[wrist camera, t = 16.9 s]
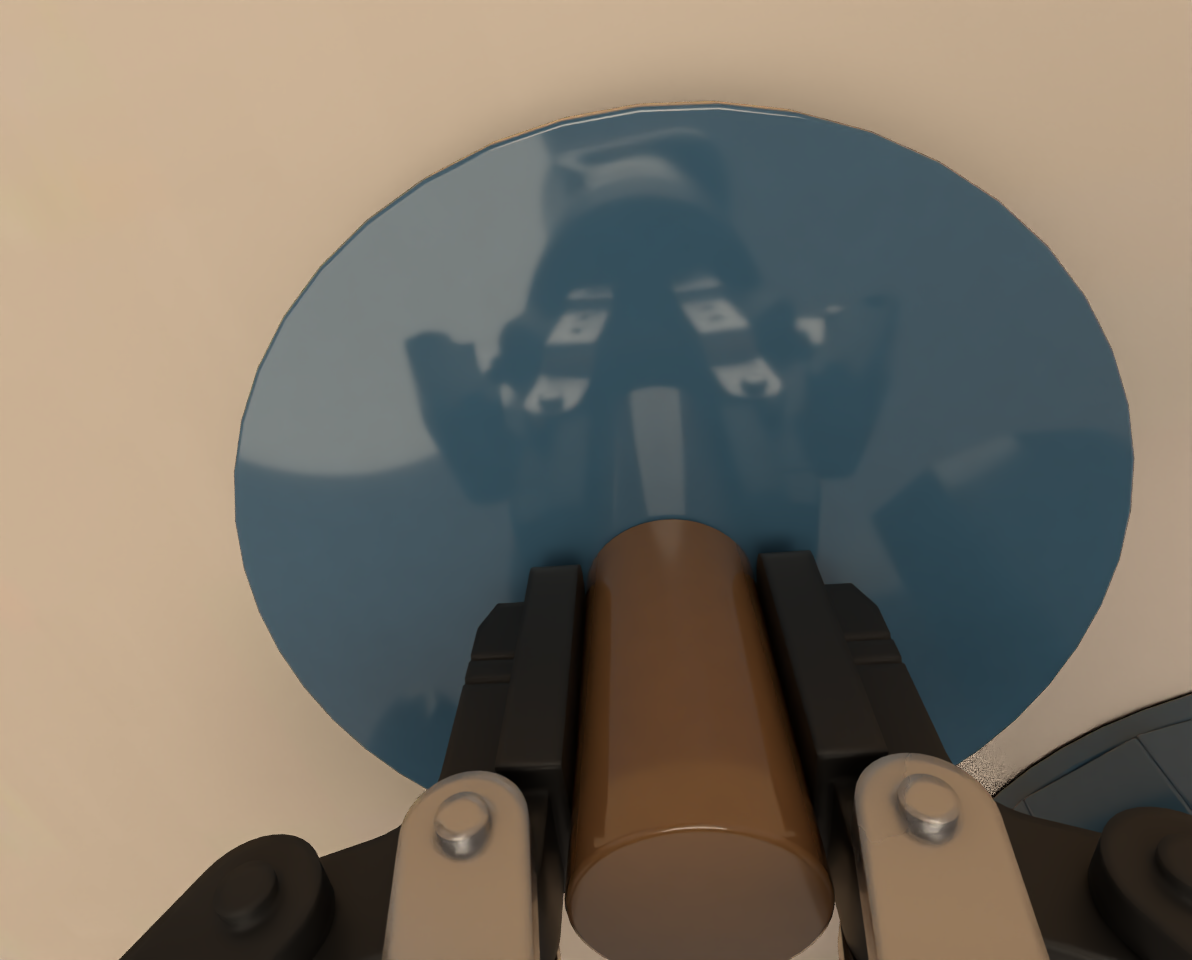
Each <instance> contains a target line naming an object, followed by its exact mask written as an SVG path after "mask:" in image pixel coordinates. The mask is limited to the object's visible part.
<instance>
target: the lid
mask: <svg viewBox="0 0 1192 960" xmlns="http://www.w3.org/2000/svg"><path fill="white" fill-rule="evenodd" d="M1133 471H1134V451H1133V442H1132V432H1131V423H1130V414H1129V405H1128V401H1127V398H1126V394H1125V391H1124V387H1123V384H1122V381H1121V377H1120V374H1119V370H1118V367H1117V364H1116V360H1115V357H1114V353H1113V350H1112V348H1111V346H1110V344H1109V342H1108V340H1107V338H1106V336H1105V334H1104V332H1103V330H1102V328H1101V326H1100V324H1099V322H1098V320H1097V318H1096V316H1095V314H1094V312H1093V310H1092V308H1091V306H1090V304H1089V302H1088V300H1087V298H1086V296H1085V295H1084V293H1083V292H1082V291H1081V289H1080V288H1079V287H1078V285H1077V284H1076V283H1075V281H1074V280H1073V279H1072V277H1071V276H1070V275H1069V273H1068V272H1067V271H1066V269H1065V268H1064V267H1063V265H1062V264H1061V263H1060V261H1059V260H1058V259H1057V257H1056V256H1055V255H1054V253H1053V252H1052V251H1051V250H1050V248H1049V247H1048V246H1047V245H1046V244H1045V243H1044V242H1043V241H1042V240H1041V239H1040V238H1039V237H1038V236H1037V235H1036V234H1035V233H1033V232H1032V231H1031V230H1030V229H1029V228H1028V227H1027V226H1026V225H1025V224H1024V223H1023V222H1022V221H1021V220H1019V219H1018V218H1017V217H1016V216H1015V215H1014V214H1013V213H1012V212H1011V211H1010V210H1009V209H1008V208H1007V207H1005V206H1004V205H1003V204H1002V203H1001V202H1000V201H999V200H998V199H996V198H995V197H993V196H991V195H990V194H988V193H987V192H985V191H984V190H982V189H981V188H979V187H978V186H976V185H975V184H973V183H972V182H970V181H969V180H967V179H966V178H964V177H962V176H961V175H959V174H958V173H956V172H955V171H953V170H952V169H950V168H949V167H947V166H946V165H944V164H943V163H941V162H940V161H937V160H935V159H933V158H930V157H928V156H926V155H924V154H921V153H919V152H917V151H915V150H912V149H910V148H908V147H906V146H903V145H901V144H899V143H897V142H894V141H892V140H890V139H888V138H885V137H883V136H881V135H879V134H876V133H874V132H872V131H868V130H865V129H861V128H858V127H854V126H850V125H846V124H843V123H839V122H835V121H831V120H828V119H824V118H820V117H816V116H813V115H809V114H805V113H801V112H798V111H794V110H790V109H783V108H774V107H765V106H756V105H747V104H738V103H729V102H720V101H696V102H669V103H643V104H634V105H628V106H623V107H618V108H612V109H607V110H601V111H596V112H591V113H585V114H580V115H574V116H569V117H564V118H561V119H558V120H555V121H552V122H549V123H547V124H544V125H541V126H538V127H535V128H532V129H529V130H526V131H523V132H520V133H517V134H514V135H511V136H508V137H506V138H503V139H500V140H497V141H494V142H492V143H490V144H489V145H487V146H485V147H483V148H481V149H479V150H477V151H475V152H473V153H471V154H469V155H467V156H465V157H463V158H461V159H459V160H458V161H456V162H454V163H452V164H450V165H448V166H446V167H444V168H442V169H440V170H438V171H436V172H434V173H432V174H431V175H429V176H427V177H426V178H424V179H422V180H421V181H420V182H418V183H417V184H416V185H414V186H413V187H411V188H410V189H409V190H407V191H406V192H405V193H403V194H402V195H400V196H399V197H398V198H396V199H395V200H394V201H392V202H391V203H389V204H388V205H387V206H385V207H384V208H382V209H381V210H380V211H378V212H377V213H376V214H374V215H373V216H371V217H370V218H369V219H367V220H366V221H365V222H364V223H363V224H362V225H361V226H360V227H359V228H358V229H357V230H356V231H355V232H354V233H353V234H352V235H351V236H350V237H349V238H348V239H347V240H346V241H345V242H344V243H343V244H342V245H341V246H340V247H339V248H338V249H337V250H336V251H335V252H334V253H333V254H332V255H331V256H330V257H329V258H328V259H327V260H326V261H325V262H324V263H323V264H322V265H321V266H320V267H319V268H318V270H317V271H316V273H315V274H314V275H313V277H312V278H311V279H310V281H309V282H308V284H307V285H306V286H305V288H304V289H303V290H302V292H301V293H300V294H299V296H298V297H297V299H296V300H295V301H294V303H293V304H292V305H291V307H290V308H289V310H288V311H287V312H286V314H285V315H284V317H283V319H282V321H281V322H280V324H279V326H278V328H277V330H276V332H275V334H274V336H273V338H272V340H271V342H270V344H269V346H268V348H267V350H266V352H265V354H264V356H263V358H262V360H261V362H260V364H259V366H258V368H257V371H256V375H255V378H254V381H253V384H252V387H251V391H250V394H249V397H248V400H247V403H246V407H245V410H244V413H243V416H242V419H241V426H240V434H239V441H238V448H237V455H236V462H235V470H234V484H235V522H236V528H237V533H238V538H239V544H240V549H241V555H242V560H243V566H244V570H245V573H246V576H247V578H248V581H249V584H250V587H251V590H252V593H253V596H254V599H255V602H256V605H257V608H258V611H259V613H260V615H261V617H262V619H263V621H264V623H265V625H266V627H267V628H268V630H269V632H270V634H271V636H272V638H273V640H274V642H275V644H276V646H277V648H278V650H279V652H280V653H281V655H282V656H283V658H284V659H285V661H286V662H287V663H288V665H289V666H290V668H291V669H292V671H293V672H294V674H295V675H296V677H297V678H298V679H299V681H300V682H301V684H302V685H303V687H304V688H305V689H306V690H307V691H308V692H309V694H310V695H311V696H312V697H313V698H314V699H315V700H316V701H317V703H318V704H319V705H320V706H321V707H322V708H323V709H324V711H325V712H326V713H327V714H328V715H329V716H330V717H331V718H332V720H334V721H335V722H336V723H337V724H338V725H339V726H340V727H341V728H342V729H344V730H345V731H346V732H347V733H348V734H349V735H350V736H351V737H352V738H354V739H355V740H356V741H357V742H358V743H359V744H360V745H361V746H363V747H364V748H365V749H366V750H368V751H369V752H370V753H372V754H373V755H374V756H376V757H377V758H379V759H380V760H381V761H383V762H384V763H386V764H387V765H388V766H390V767H391V768H393V769H394V770H395V771H397V772H398V773H399V774H401V775H403V776H405V777H406V778H408V779H410V780H412V781H413V782H415V783H417V784H418V785H420V786H422V787H424V788H425V789H429V788H430V787H431V786H433V785H434V784H436V783H437V782H438V780H439V777H440V774H441V770H442V766H443V763H444V759H445V755H446V751H447V747H448V743H449V739H450V735H451V731H452V727H453V723H454V719H455V715H456V711H457V707H458V703H459V699H460V695H461V692H462V688H463V685H465V676H466V672H467V668H468V664H469V662H470V661H471V652H472V648H473V644H474V640H475V636H476V632H477V628H478V627H479V626H480V625H481V623H482V622H483V621H484V620H485V618H486V617H487V616H488V615H489V613H490V612H491V611H492V610H493V609H494V607H495V606H496V605H497V604H498V603H515V602H524V600H525V594H526V589H527V583H528V578H529V573H530V569H531V568H532V567H545V566H560V565H576V564H580V566H581V569H582V574H583V581H584V588H585V596H586V598H585V612H584V627H583V642H582V656H581V671H580V686H579V701H578V715H577V730H576V745H575V759H574V774H573V789H572V803H571V818H570V828H569V842H568V857H567V871H566V886H565V907H566V911H567V914H568V917H569V920H570V923H571V925H572V927H573V929H574V930H575V932H576V934H577V935H578V936H579V937H580V938H581V940H582V941H583V942H584V943H585V944H586V945H588V946H589V947H590V948H591V949H592V950H594V951H595V952H596V953H598V954H599V955H601V956H602V957H604V958H606V959H608V960H790V959H792V958H794V957H795V956H797V955H799V954H800V953H802V952H803V951H805V950H806V949H807V948H808V947H810V946H811V945H812V944H813V943H814V942H815V941H816V940H817V939H818V938H819V937H820V936H821V935H822V934H823V932H824V931H825V929H826V928H827V927H828V924H829V922H830V920H831V918H832V914H833V910H834V905H835V889H834V885H833V881H832V877H831V873H830V869H829V865H828V862H827V858H826V854H825V850H824V846H823V842H822V838H821V834H820V830H819V826H818V823H817V819H816V815H815V811H814V807H813V803H812V799H811V795H810V791H809V787H808V784H807V780H806V776H805V772H804V768H803V764H802V760H801V756H800V752H799V749H798V745H797V741H796V737H795V733H794V729H793V725H792V721H791V717H790V713H789V710H788V706H787V702H786V698H785V694H784V690H783V686H782V682H781V678H780V674H779V671H778V667H777V663H776V659H775V655H774V651H773V647H772V643H771V639H770V635H769V632H768V628H767V624H766V620H765V616H764V612H763V608H762V604H761V600H760V596H759V593H758V589H757V585H756V580H757V557H758V554H759V553H772V552H788V551H804V550H810V551H811V552H812V554H813V556H814V559H815V561H816V564H817V567H818V569H819V572H820V574H821V577H822V580H823V582H824V584H841V583H852V584H853V585H854V586H856V587H857V588H858V589H859V590H860V591H861V592H862V593H864V594H865V595H866V596H867V597H868V598H869V599H870V600H872V601H873V602H874V603H875V604H876V605H877V606H878V608H879V610H880V612H881V614H882V616H883V618H884V621H885V623H886V625H887V627H888V629H889V631H890V633H891V639H893V640H894V642H895V644H896V646H897V648H898V650H899V653H900V655H901V657H902V663H905V665H906V668H907V670H908V672H909V674H910V676H911V678H912V680H913V682H914V685H915V687H916V689H917V691H918V693H919V695H920V697H921V700H922V702H923V704H924V706H925V708H926V710H927V712H928V715H929V717H930V719H931V721H932V723H933V725H934V727H935V729H936V732H937V734H938V736H939V738H940V740H941V742H942V744H943V747H944V749H945V751H946V753H947V755H948V756H949V758H950V760H951V762H952V763H953V765H955V766H956V765H957V764H959V763H960V762H962V761H963V760H965V759H966V758H968V757H969V756H971V755H972V754H974V753H975V752H977V751H978V750H980V749H981V748H982V747H983V746H984V745H986V744H987V743H988V742H989V741H990V740H992V739H993V738H994V737H995V736H996V735H998V734H999V733H1000V732H1001V731H1002V730H1004V729H1005V728H1006V727H1007V726H1008V725H1010V724H1011V723H1012V722H1013V721H1014V720H1016V719H1017V718H1018V717H1019V716H1020V714H1021V713H1022V712H1023V711H1024V710H1025V709H1026V708H1027V707H1028V706H1029V705H1030V704H1031V703H1032V702H1033V701H1034V700H1035V699H1036V698H1037V697H1038V696H1039V695H1040V694H1041V693H1042V692H1043V691H1044V690H1045V689H1046V687H1047V686H1048V685H1049V684H1050V683H1051V681H1052V680H1053V679H1054V677H1055V676H1056V675H1057V673H1058V672H1059V671H1060V670H1061V668H1062V667H1063V666H1064V664H1065V663H1066V662H1067V660H1068V659H1069V658H1070V656H1071V655H1072V654H1073V652H1074V651H1075V650H1076V648H1077V647H1078V645H1079V643H1080V642H1081V640H1082V638H1083V636H1084V635H1085V633H1086V631H1087V629H1088V628H1089V626H1090V624H1091V622H1092V621H1093V619H1094V617H1095V615H1096V614H1097V612H1098V610H1099V608H1100V607H1101V605H1102V602H1103V600H1104V597H1105V595H1106V592H1107V590H1108V587H1109V585H1110V582H1111V580H1112V577H1113V575H1114V572H1115V570H1116V567H1117V565H1118V562H1119V560H1120V555H1121V551H1122V547H1123V542H1124V538H1125V534H1126V529H1127V525H1128V521H1129V516H1130V512H1131V502H1132V486H1133Z"/></svg>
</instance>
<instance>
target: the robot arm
mask: <svg viewBox="0 0 1192 960" xmlns="http://www.w3.org/2000/svg"><path fill="white" fill-rule="evenodd" d="M756 585H757V589H758V593H759V596H760V600H761V604H762V608H763V612H764V616H765V620H766V624H767V628H768V632H769V635H770V639H771V643H772V647H773V651H774V655H775V659H776V663H777V667H778V671H779V674H780V678H781V682H782V686H783V690H784V694H785V698H786V702H787V706H788V710H789V713H790V717H791V721H792V725H793V729H794V733H795V737H796V741H797V745H798V749H799V752H800V756H801V760H802V764H803V768H804V772H805V776H806V780H807V784H808V787H809V791H810V795H811V799H812V803H813V807H814V811H815V815H816V819H817V823H818V826H819V830H820V834H821V838H822V842H823V846H824V850H825V854H826V858H827V862H828V865H829V869H830V873H831V877H832V881H833V885H834V889H835V903H836V907H837V911H838V914H839V918H840V925H839V933H838V954H839V960H1192V815H1189V814H1186V813H1183V812H1180V811H1176V810H1172V809H1167V808H1160V807H1136V808H1131V809H1126V810H1124V811H1122V812H1120V813H1117V814H1116V815H1115V816H1113V817H1112V818H1111V819H1110V820H1109V821H1108V822H1107V824H1106V825H1105V827H1104V828H1103V831H1102V833H1100V832H1096V831H1092V830H1088V829H1084V828H1079V827H1075V826H1071V825H1067V824H1063V823H1058V822H1054V821H1050V820H1046V819H1042V818H1038V817H1034V816H1031V815H1027V814H1024V813H1021V812H1018V811H1016V810H1013V809H1011V808H1008V807H1006V806H1004V805H1002V804H1000V803H998V802H996V801H995V800H993V798H992V797H991V795H990V794H989V793H988V791H987V790H986V789H985V788H984V787H983V786H982V785H981V784H980V783H979V782H978V781H977V780H976V779H975V778H974V777H972V776H971V775H970V774H968V773H967V772H965V771H964V770H962V769H961V768H959V767H957V766H955V765H953V763H952V762H951V760H950V758H949V756H948V755H947V753H946V751H945V749H944V747H943V744H942V742H941V740H940V738H939V736H938V734H937V732H936V729H935V727H934V725H933V723H932V721H931V719H930V717H929V715H928V712H927V710H926V708H925V706H924V704H923V702H922V700H921V697H920V695H919V693H918V691H917V689H916V687H915V685H914V682H913V680H912V678H911V676H910V674H909V672H908V670H907V668H906V665H905V663H902V657H901V655H900V653H899V650H898V648H897V646H896V644H895V642H894V640H893V639H891V633H890V631H889V629H888V627H887V625H886V623H885V621H884V618H883V616H882V614H881V612H880V610H879V608H878V606H877V605H876V604H875V603H874V602H873V601H872V600H870V599H869V598H868V597H867V596H866V595H865V594H864V593H862V592H861V591H860V590H859V589H858V588H857V587H856V586H854V585H853V584H852V583H841V584H824V582H823V580H822V577H821V574H820V572H819V569H818V567H817V564H816V561H815V559H814V556H813V554H812V552H811V551H810V550H804V551H788V552H772V553H759V554H758V557H757V580H756ZM585 598H586V596H585V588H584V581H583V574H582V569H581V566H580V564H576V565H560V566H545V567H532V568H531V569H530V573H529V578H528V583H527V589H526V594H525V600H524V602H515V603H498V604H497V605H496V606H495V607H494V609H493V610H492V611H491V612H490V613H489V615H488V616H487V617H486V618H485V620H484V621H483V622H482V623H481V625H480V626H479V627H478V628H477V632H476V636H475V640H474V644H473V648H472V652H471V661H470V662H469V664H468V668H467V672H466V676H465V685H463V688H462V692H461V695H460V699H459V703H458V707H457V711H456V715H455V719H454V723H453V727H452V731H451V735H450V739H449V743H448V747H447V751H446V755H445V759H444V763H443V766H442V770H441V774H440V777H439V780H438V782H437V783H436V784H434V785H433V786H431V787H430V788H429V789H427V790H426V791H425V792H424V793H423V794H422V795H421V796H420V797H418V799H417V800H416V801H415V802H414V804H413V805H412V806H411V807H410V809H409V811H408V812H407V814H406V816H405V818H404V820H403V823H402V825H400V826H399V827H397V828H396V829H394V830H392V831H390V832H388V833H387V834H385V835H382V836H380V837H377V838H375V839H373V840H370V841H367V842H364V843H361V844H358V845H355V846H352V847H349V848H346V849H343V850H341V851H338V852H335V853H332V854H329V855H326V856H323V857H320V858H319V857H318V855H317V853H316V851H315V850H314V848H313V847H312V846H311V845H310V844H309V843H307V842H306V841H305V840H303V839H301V838H298V837H296V836H292V835H285V834H278V835H269V836H263V837H260V838H257V839H254V840H251V841H248V842H246V843H244V844H242V845H240V846H238V847H236V848H234V849H233V850H231V851H229V852H228V853H226V854H225V855H224V856H222V857H221V858H220V859H218V860H217V861H216V862H215V863H214V864H213V865H211V866H210V867H209V868H208V869H207V870H206V871H205V872H204V873H203V874H202V875H201V876H200V877H199V878H198V879H197V880H196V881H195V882H194V883H193V884H192V885H191V886H190V887H189V888H188V890H187V891H186V892H185V893H184V894H183V895H182V896H181V897H180V898H179V899H178V900H177V901H176V902H175V903H174V904H173V905H172V906H171V907H170V908H169V909H168V910H167V911H166V912H165V913H164V914H163V915H162V916H161V917H160V918H159V919H158V920H157V921H156V922H155V923H154V924H153V925H152V926H151V927H150V929H149V930H148V931H147V932H146V933H145V934H144V935H143V936H142V937H141V938H140V939H139V940H138V941H137V942H136V943H135V944H134V945H133V946H132V947H131V948H130V949H129V950H128V951H127V952H126V953H125V954H124V955H123V956H122V957H121V958H120V959H119V960H561V954H560V947H559V943H560V935H561V921H562V907H563V893H565V886H566V871H567V857H568V842H569V828H570V818H571V803H572V789H573V774H574V759H575V745H576V730H577V715H578V701H579V686H580V671H581V656H582V642H583V627H584V612H585Z"/></svg>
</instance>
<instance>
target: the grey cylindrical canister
mask: <svg viewBox="0 0 1192 960" xmlns="http://www.w3.org/2000/svg"><path fill="white" fill-rule="evenodd" d="M993 800H995V801H996V802H998V803H1000V804H1002V805H1004V806H1006V807H1008V808H1011V809H1013V810H1016V811H1018V812H1021V813H1024V814H1027V815H1031V816H1034V817H1038V818H1042V819H1046V820H1050V821H1054V822H1058V823H1063V824H1067V825H1071V826H1075V827H1079V828H1084V829H1088V830H1092V831H1096V832H1100V833H1102V831H1103V828H1104V827H1105V825H1106V824H1107V822H1108V821H1109V820H1110V819H1111V818H1112V817H1113V816H1115V815H1116V814H1117V813H1120V812H1122V811H1124V810H1126V809H1131V808H1136V807H1160V808H1167V809H1172V810H1176V811H1180V812H1183V813H1186V814H1189V815H1192V694H1189V695H1186V696H1183V697H1180V698H1177V699H1174V700H1171V701H1168V702H1165V703H1162V704H1159V705H1156V706H1153V707H1150V708H1147V709H1144V710H1142V711H1139V712H1137V713H1135V714H1132V715H1130V716H1127V717H1125V718H1123V719H1120V720H1118V721H1116V722H1113V723H1111V724H1108V725H1106V726H1104V727H1101V728H1099V729H1097V730H1095V731H1094V732H1092V733H1090V734H1088V735H1086V736H1084V737H1082V738H1080V739H1078V740H1076V741H1074V742H1072V743H1070V744H1068V745H1067V746H1065V747H1063V748H1061V749H1060V750H1058V751H1056V752H1055V753H1053V754H1052V755H1050V756H1049V757H1047V758H1045V759H1044V760H1042V761H1041V762H1039V763H1038V764H1036V765H1034V766H1033V767H1031V768H1030V769H1028V770H1027V771H1026V772H1024V773H1023V774H1022V775H1021V776H1019V777H1018V778H1017V779H1015V780H1014V781H1013V782H1012V783H1010V784H1009V785H1008V786H1006V787H1005V788H1004V789H1003V790H1001V791H1000V792H999V793H998V794H997V795H996V796H995V797H994V798H993Z"/></svg>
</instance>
